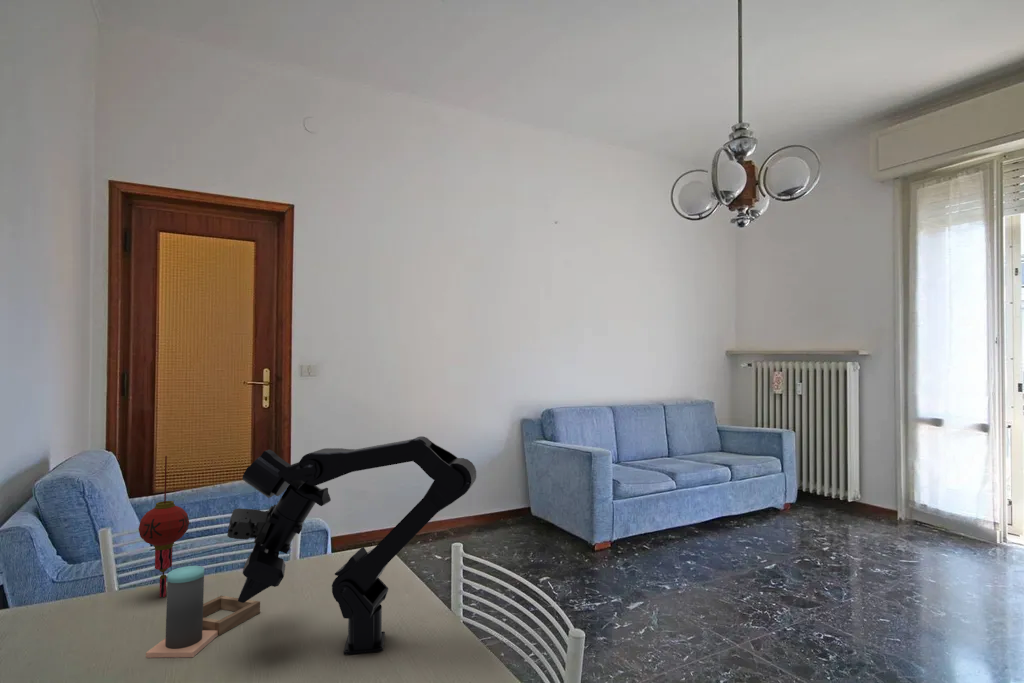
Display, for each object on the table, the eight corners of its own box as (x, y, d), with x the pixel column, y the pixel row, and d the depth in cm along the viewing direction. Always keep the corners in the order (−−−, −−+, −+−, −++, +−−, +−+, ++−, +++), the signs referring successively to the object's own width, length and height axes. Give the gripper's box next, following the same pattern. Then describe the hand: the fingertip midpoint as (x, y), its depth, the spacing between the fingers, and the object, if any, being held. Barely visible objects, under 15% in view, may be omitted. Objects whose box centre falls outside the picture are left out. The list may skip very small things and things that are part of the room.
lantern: (197, 587, 124) (200, 452, 126) (170, 605, 115) (173, 459, 116) (155, 588, 124) (158, 452, 126) (125, 605, 115) (129, 459, 116)
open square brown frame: (260, 612, 111) (260, 601, 111) (219, 635, 101) (219, 623, 102) (220, 606, 114) (221, 595, 114) (177, 628, 105) (177, 616, 105)
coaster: (218, 634, 102) (218, 630, 102) (193, 657, 94) (193, 652, 94) (174, 635, 102) (175, 630, 102) (145, 657, 94) (146, 652, 94)
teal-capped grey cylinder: (201, 644, 97) (203, 573, 97) (163, 651, 94) (166, 579, 95) (202, 630, 102) (204, 563, 102) (166, 637, 99) (169, 568, 100)
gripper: (254, 472, 106) (210, 541, 106) (239, 520, 88) (187, 603, 88) (308, 495, 110) (266, 562, 110) (304, 545, 92) (254, 625, 92)
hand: (244, 585), depth 100 cm, fingers open, 9 cm apart
